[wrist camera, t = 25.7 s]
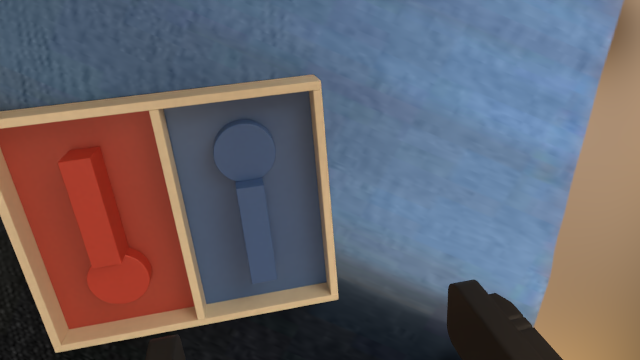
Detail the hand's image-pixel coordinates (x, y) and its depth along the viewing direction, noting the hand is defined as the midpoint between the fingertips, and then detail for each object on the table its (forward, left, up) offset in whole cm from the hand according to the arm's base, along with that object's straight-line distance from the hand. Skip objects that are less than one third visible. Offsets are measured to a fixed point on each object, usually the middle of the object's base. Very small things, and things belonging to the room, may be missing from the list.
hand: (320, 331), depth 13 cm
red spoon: (+5, -12, -22) cm, 25 cm away
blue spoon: (+6, -2, -22) cm, 22 cm away
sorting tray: (+6, -7, -22) cm, 24 cm away
